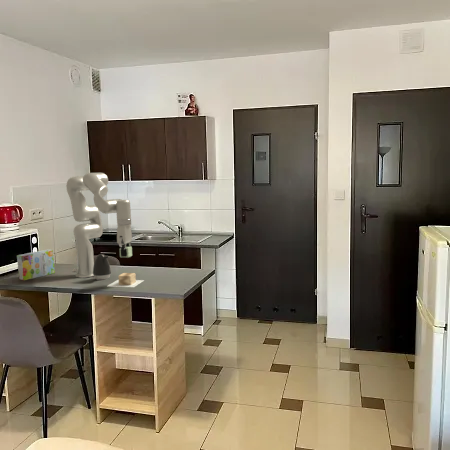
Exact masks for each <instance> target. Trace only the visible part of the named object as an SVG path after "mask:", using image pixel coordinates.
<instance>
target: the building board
mask: <svg viewBox="0 0 450 450" xmlns="http://www.w3.org/2000/svg"><path fill="white" fill-rule="evenodd" d="M144 281H145V280H143V279H140V280H139V279H136V282H135V283H133V284H132V285H119V279H117V280H115V281H113V282H112V283H109V284H108V285H107V286H106V287H108V288H109V287H112V288H135V287H137V286H138V285H139V284H142V283H143V282H144Z"/></svg>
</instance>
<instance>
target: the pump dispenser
mask: <svg viewBox="0 0 450 450" xmlns="http://www.w3.org/2000/svg"><path fill="white" fill-rule="evenodd" d="M108 258H109V255H105V254H104V253H99V254H98V255H97V256H96V257H95V260H94V267H93V275H94V276H93V277H94V279H95V280H97V281H100V280H108V279H109V278H110V276H111V273H112V269H111V264H110V262H109V260H108Z"/></svg>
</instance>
